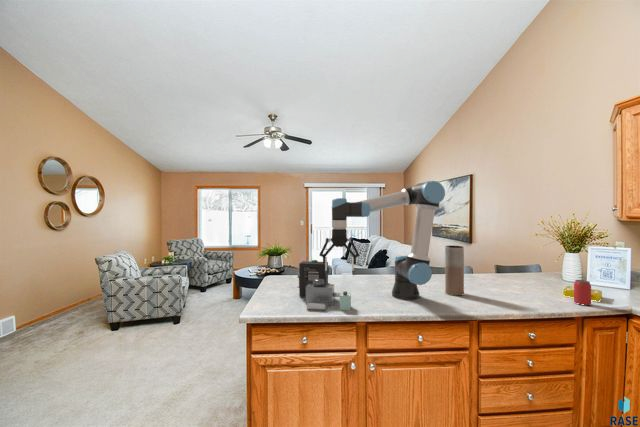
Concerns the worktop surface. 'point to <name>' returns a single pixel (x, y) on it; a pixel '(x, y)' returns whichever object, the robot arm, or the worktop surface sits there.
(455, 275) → the vase
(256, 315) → the worktop surface
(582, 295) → the beer can
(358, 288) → the worktop surface
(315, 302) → the motor
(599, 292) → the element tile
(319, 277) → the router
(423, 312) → the worktop surface
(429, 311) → the worktop surface
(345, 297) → the block
